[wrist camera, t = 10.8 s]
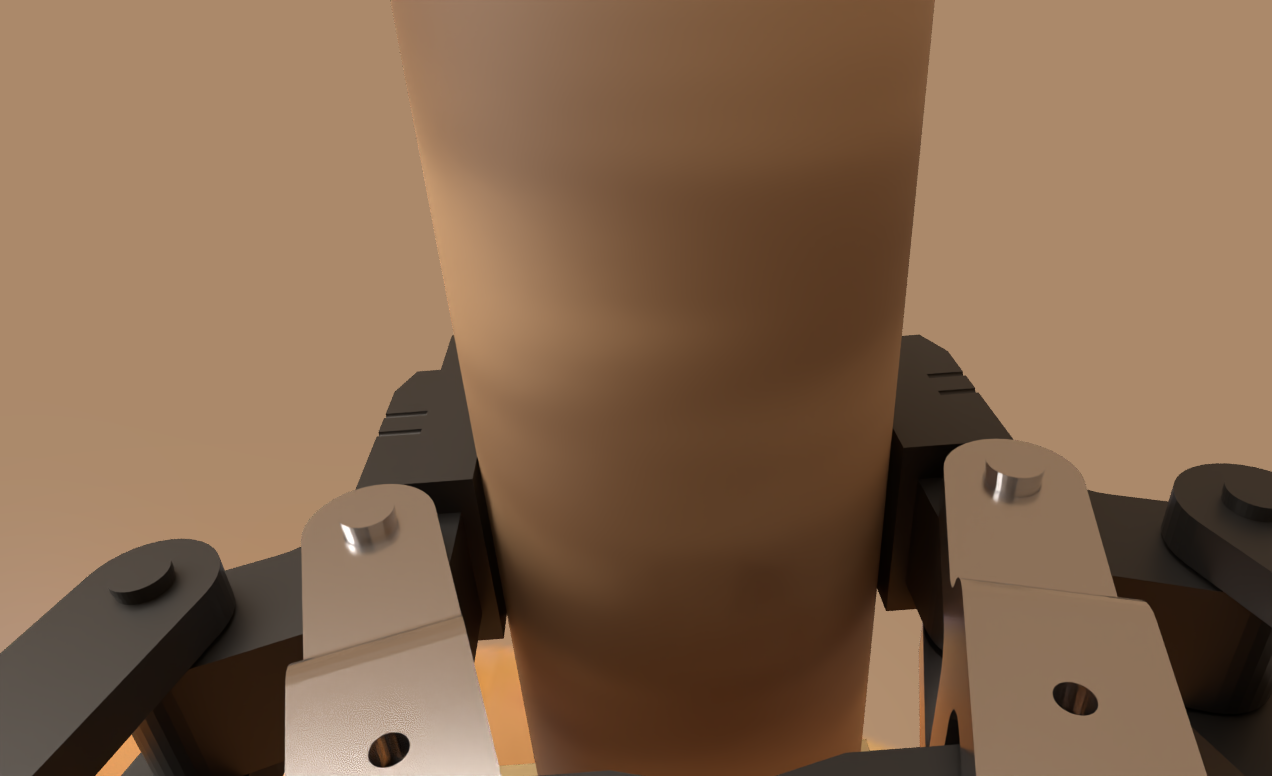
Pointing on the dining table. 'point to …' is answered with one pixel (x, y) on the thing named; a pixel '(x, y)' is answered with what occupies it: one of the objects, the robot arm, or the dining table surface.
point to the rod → (678, 352)
